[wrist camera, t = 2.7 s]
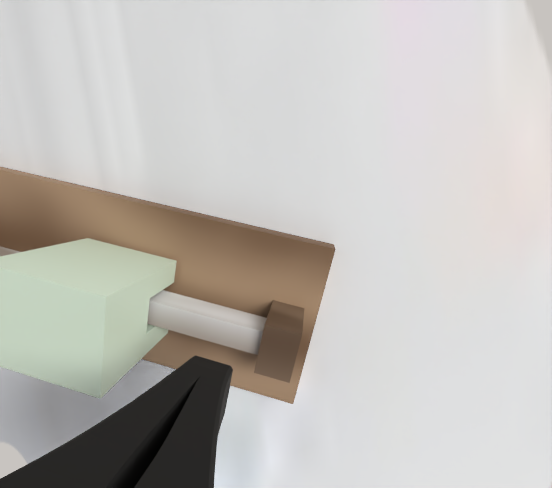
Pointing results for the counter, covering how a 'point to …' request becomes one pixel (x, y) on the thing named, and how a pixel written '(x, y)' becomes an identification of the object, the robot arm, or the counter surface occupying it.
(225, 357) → the rod board
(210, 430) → the robot arm
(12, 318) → the sleeve
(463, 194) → the counter surface
